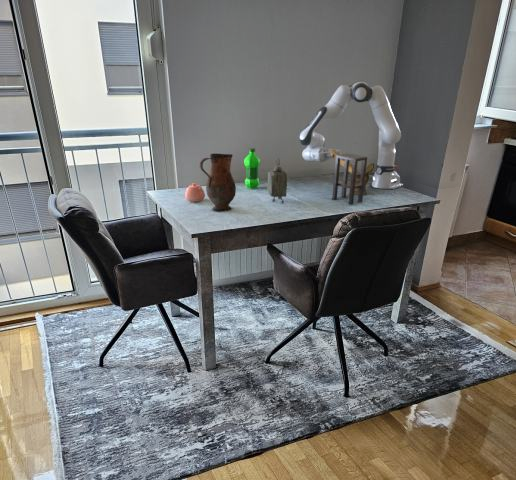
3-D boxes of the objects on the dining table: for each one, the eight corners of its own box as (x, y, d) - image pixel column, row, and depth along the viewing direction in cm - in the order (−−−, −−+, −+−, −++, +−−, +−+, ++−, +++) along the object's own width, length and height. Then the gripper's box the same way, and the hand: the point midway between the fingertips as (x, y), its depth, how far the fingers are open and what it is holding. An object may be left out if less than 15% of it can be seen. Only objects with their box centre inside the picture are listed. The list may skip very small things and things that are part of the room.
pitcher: (242, 209, 272) (241, 154, 256) (211, 216, 261) (208, 159, 245) (226, 203, 283) (224, 150, 268) (195, 209, 272) (191, 154, 256)
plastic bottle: (259, 189, 315) (259, 149, 302) (244, 189, 315) (243, 149, 302) (260, 186, 323) (260, 147, 310) (244, 186, 323) (244, 147, 311)
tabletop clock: (286, 204, 283) (287, 160, 270) (271, 204, 282) (272, 160, 269) (281, 198, 295) (282, 156, 282) (267, 198, 294) (267, 156, 281)
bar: (332, 154, 303) (334, 149, 301) (356, 174, 293) (358, 170, 291) (329, 154, 302) (331, 150, 300) (352, 175, 291) (354, 170, 289)
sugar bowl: (197, 196, 298) (196, 180, 292) (211, 200, 289) (210, 183, 284) (181, 200, 290) (180, 183, 285) (195, 204, 282) (194, 187, 277)
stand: (343, 196, 299) (347, 153, 285) (362, 201, 288) (367, 157, 274) (332, 199, 294) (335, 154, 280) (350, 204, 283) (355, 158, 269)
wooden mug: (374, 193, 307) (378, 164, 297) (357, 195, 302) (360, 166, 292) (366, 190, 314) (369, 162, 304) (349, 192, 309) (352, 163, 299)
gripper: (309, 151, 304) (323, 151, 293) (332, 148, 314) (347, 147, 303) (309, 161, 306) (323, 161, 296) (332, 158, 316) (347, 158, 306)
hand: (335, 154), depth 300 cm, fingers closed on bar, 3 cm apart
